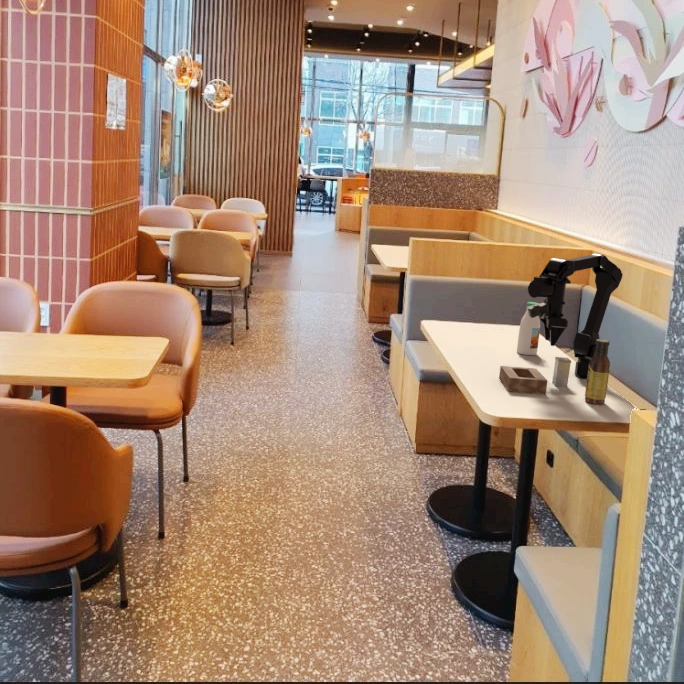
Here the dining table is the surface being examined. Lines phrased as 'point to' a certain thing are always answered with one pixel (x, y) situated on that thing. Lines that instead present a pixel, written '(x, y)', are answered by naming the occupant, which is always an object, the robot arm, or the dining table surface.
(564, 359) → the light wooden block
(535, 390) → the well board
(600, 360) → the sauce bottle
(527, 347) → the milk bottle
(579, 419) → the dining table surface
